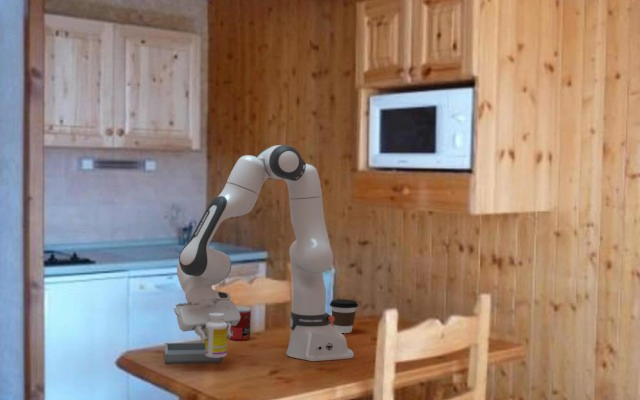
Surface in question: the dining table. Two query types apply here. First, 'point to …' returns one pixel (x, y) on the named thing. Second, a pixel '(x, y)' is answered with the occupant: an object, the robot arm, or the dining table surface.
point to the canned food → (242, 326)
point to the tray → (187, 353)
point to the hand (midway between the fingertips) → (217, 338)
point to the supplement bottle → (216, 336)
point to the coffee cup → (343, 314)
